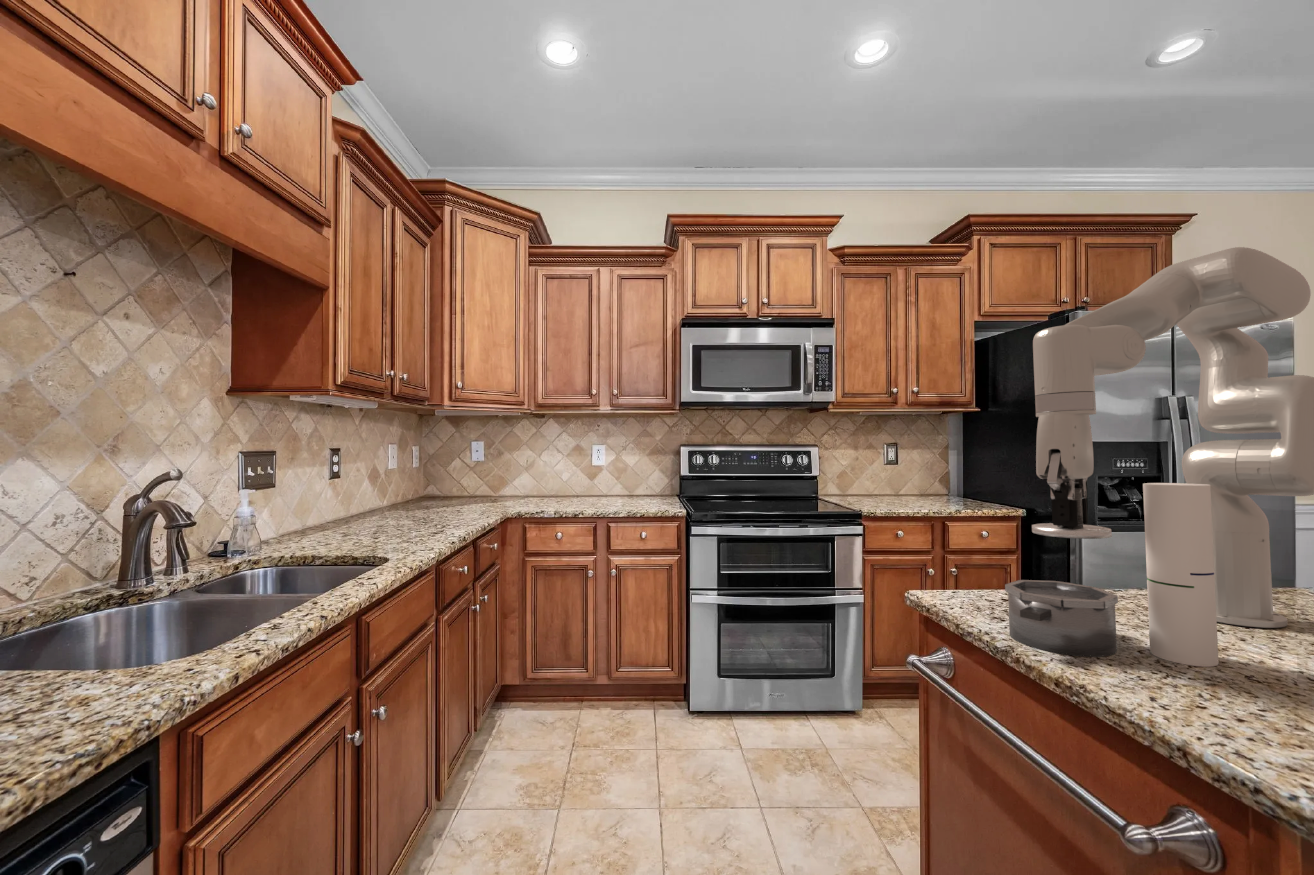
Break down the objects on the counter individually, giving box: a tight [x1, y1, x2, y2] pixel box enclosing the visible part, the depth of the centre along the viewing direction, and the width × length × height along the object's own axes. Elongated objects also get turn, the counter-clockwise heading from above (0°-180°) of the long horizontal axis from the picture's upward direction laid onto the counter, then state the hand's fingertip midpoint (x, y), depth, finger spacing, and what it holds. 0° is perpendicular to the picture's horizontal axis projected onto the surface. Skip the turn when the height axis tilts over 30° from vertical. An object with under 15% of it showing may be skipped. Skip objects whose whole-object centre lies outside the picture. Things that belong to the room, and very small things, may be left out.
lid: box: [1031, 488, 1113, 540], centre depth 84 cm, size 10×10×7 cm
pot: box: [1004, 579, 1119, 658], centre depth 86 cm, size 21×14×8 cm, turn 124°
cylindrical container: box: [1142, 482, 1220, 668], centre depth 79 cm, size 7×7×25 cm
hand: (1070, 523), depth 84 cm, fingers closed on lid, 3 cm apart
